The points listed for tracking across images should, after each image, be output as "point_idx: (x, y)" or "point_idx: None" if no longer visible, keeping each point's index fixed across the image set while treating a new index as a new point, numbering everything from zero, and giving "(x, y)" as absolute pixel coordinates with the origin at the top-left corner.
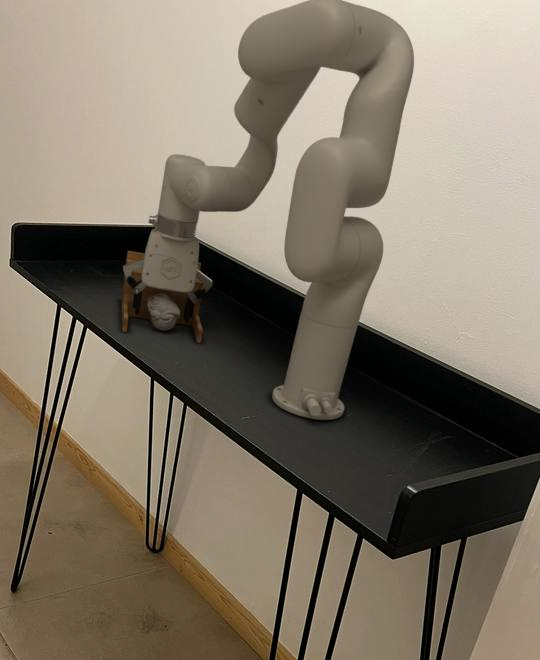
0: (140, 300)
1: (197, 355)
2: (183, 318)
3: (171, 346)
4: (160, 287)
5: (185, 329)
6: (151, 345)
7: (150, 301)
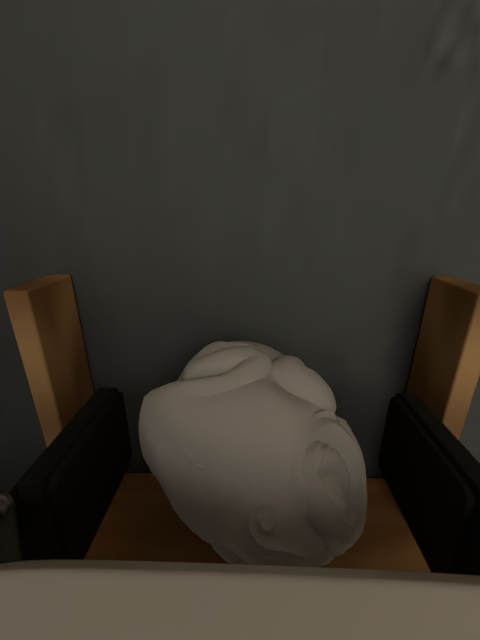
0: (448, 457)
1: (40, 32)
2: (143, 495)
3: (202, 144)
4: (375, 587)
5: (136, 426)
6: (321, 105)
7: (354, 483)
